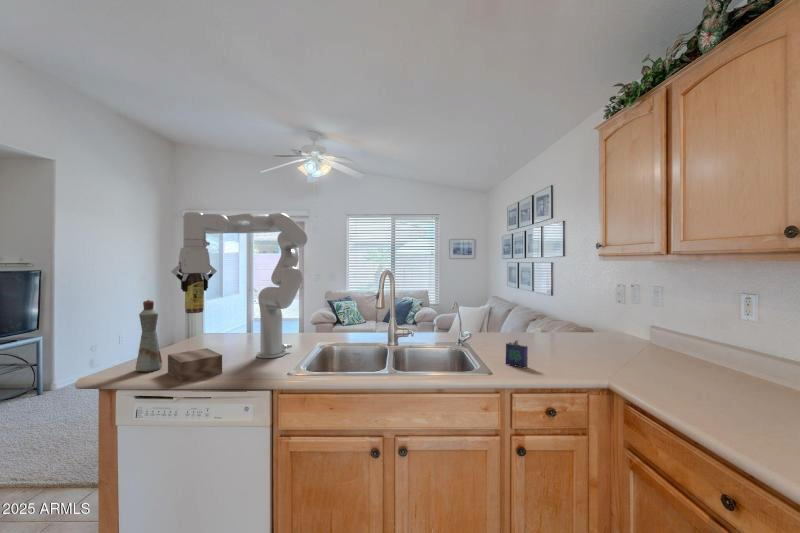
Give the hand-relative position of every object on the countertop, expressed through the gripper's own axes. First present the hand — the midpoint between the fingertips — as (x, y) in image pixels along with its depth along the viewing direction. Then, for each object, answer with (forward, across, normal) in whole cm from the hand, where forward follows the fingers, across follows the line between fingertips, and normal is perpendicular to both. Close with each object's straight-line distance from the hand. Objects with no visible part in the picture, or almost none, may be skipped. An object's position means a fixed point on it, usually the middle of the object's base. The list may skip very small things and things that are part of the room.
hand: (194, 290), depth 135 cm
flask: (+32, -94, +88) cm, 133 cm away
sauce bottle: (+9, 0, 0) cm, 9 cm away
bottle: (+32, +11, -18) cm, 39 cm away
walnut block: (+32, 0, 0) cm, 32 cm away
